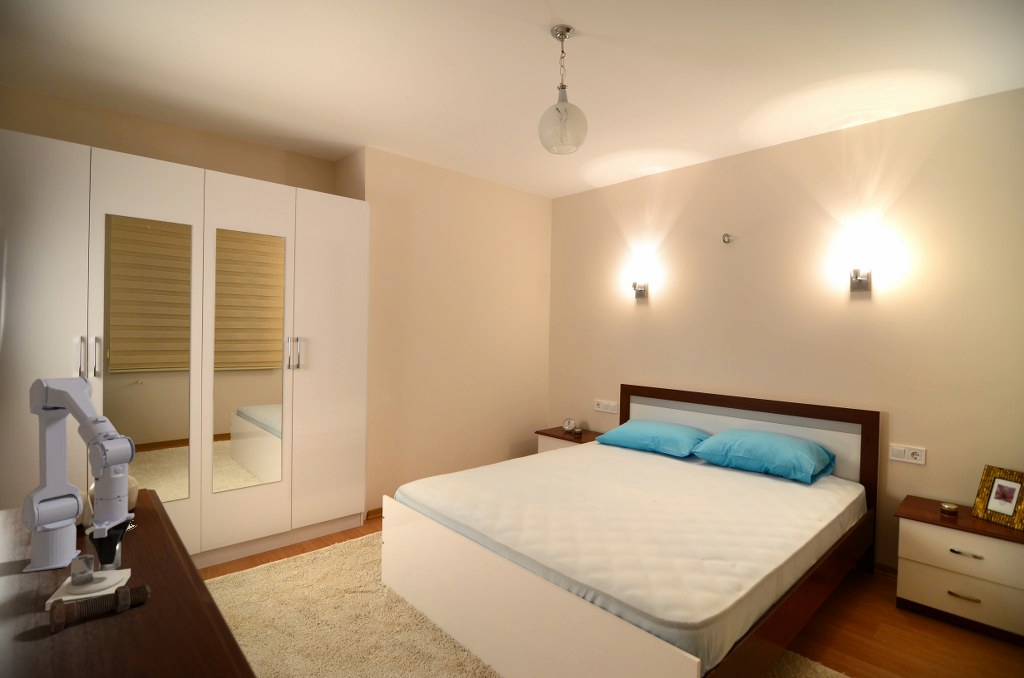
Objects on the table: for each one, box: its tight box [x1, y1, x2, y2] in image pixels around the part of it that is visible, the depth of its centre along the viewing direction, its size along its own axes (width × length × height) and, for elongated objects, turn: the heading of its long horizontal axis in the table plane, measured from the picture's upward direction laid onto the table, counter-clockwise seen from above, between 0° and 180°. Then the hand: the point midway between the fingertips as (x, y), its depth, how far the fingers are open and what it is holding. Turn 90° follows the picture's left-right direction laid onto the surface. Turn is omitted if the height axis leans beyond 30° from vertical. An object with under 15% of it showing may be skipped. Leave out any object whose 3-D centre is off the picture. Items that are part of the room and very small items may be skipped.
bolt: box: [48, 584, 152, 634], centre depth 100 cm, size 6×5×15 cm
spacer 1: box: [70, 554, 95, 586], centre depth 109 cm, size 4×4×5 cm
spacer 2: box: [98, 541, 122, 571], centre depth 110 cm, size 4×4×5 cm
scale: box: [44, 568, 132, 612], centre depth 109 cm, size 12×11×2 cm
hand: (110, 560), depth 110 cm, fingers closed on spacer 2, 4 cm apart
